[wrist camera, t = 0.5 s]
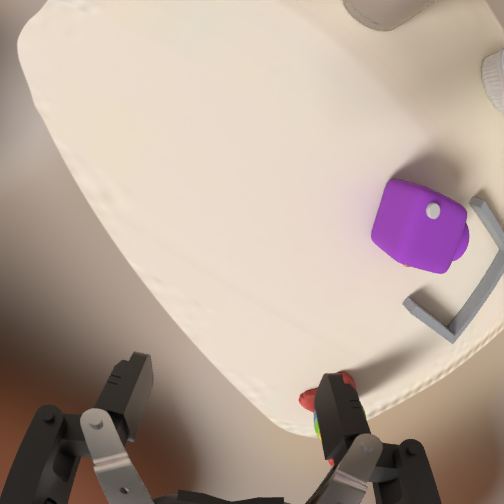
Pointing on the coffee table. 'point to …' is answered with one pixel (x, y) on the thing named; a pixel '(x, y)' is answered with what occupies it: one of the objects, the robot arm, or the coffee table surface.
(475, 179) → the coffee table surface
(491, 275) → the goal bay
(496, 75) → the ramekin
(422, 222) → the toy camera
